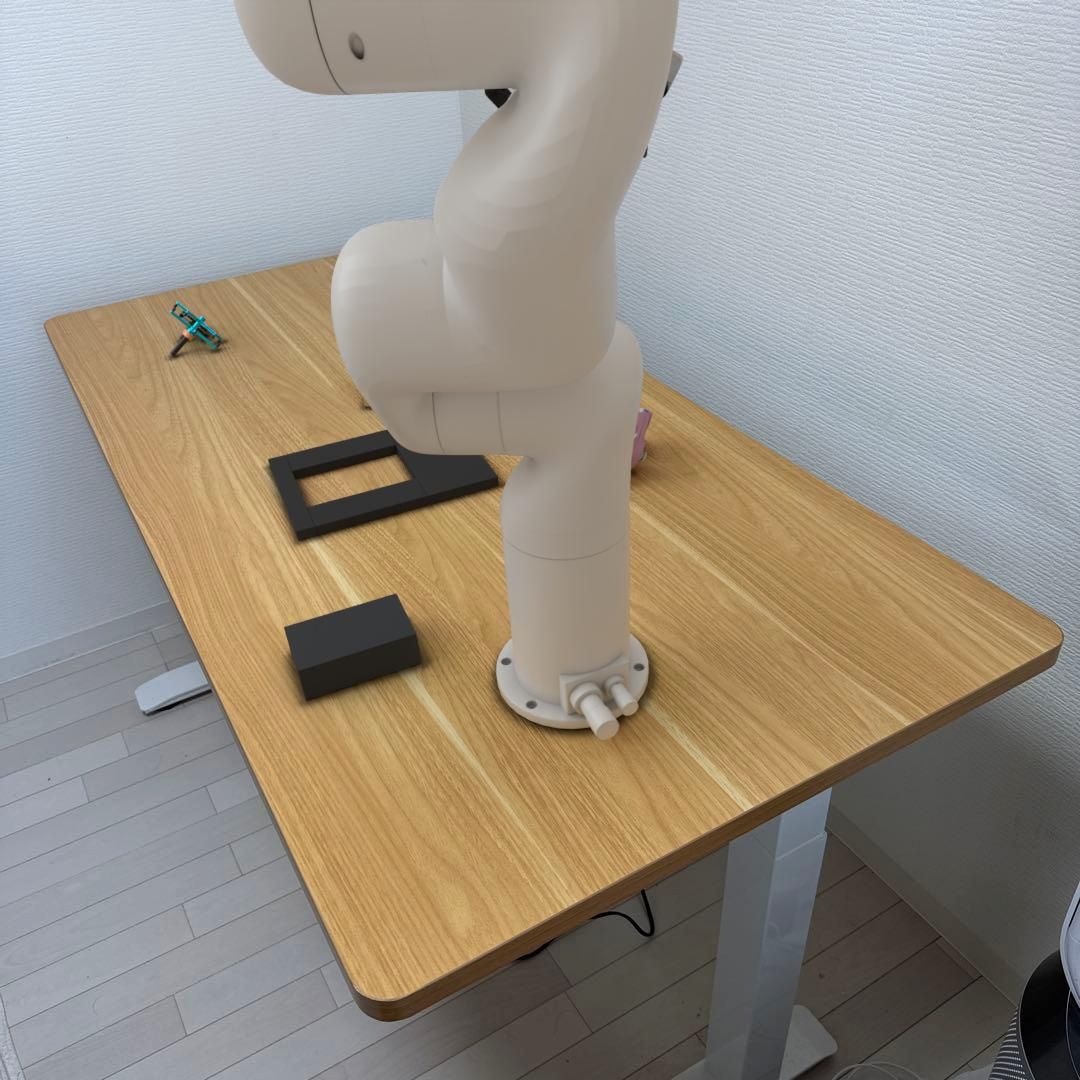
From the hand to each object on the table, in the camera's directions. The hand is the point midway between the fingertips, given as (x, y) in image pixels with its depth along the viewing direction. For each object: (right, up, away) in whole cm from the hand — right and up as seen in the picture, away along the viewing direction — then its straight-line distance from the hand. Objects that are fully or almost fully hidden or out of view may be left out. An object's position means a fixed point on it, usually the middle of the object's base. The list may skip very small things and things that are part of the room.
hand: (578, 165), depth 82 cm
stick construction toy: (-53, -4, +57) cm, 78 cm away
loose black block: (-19, -42, +1) cm, 47 cm away
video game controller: (+6, -24, +24) cm, 35 cm away
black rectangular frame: (-21, -25, +25) cm, 41 cm away
